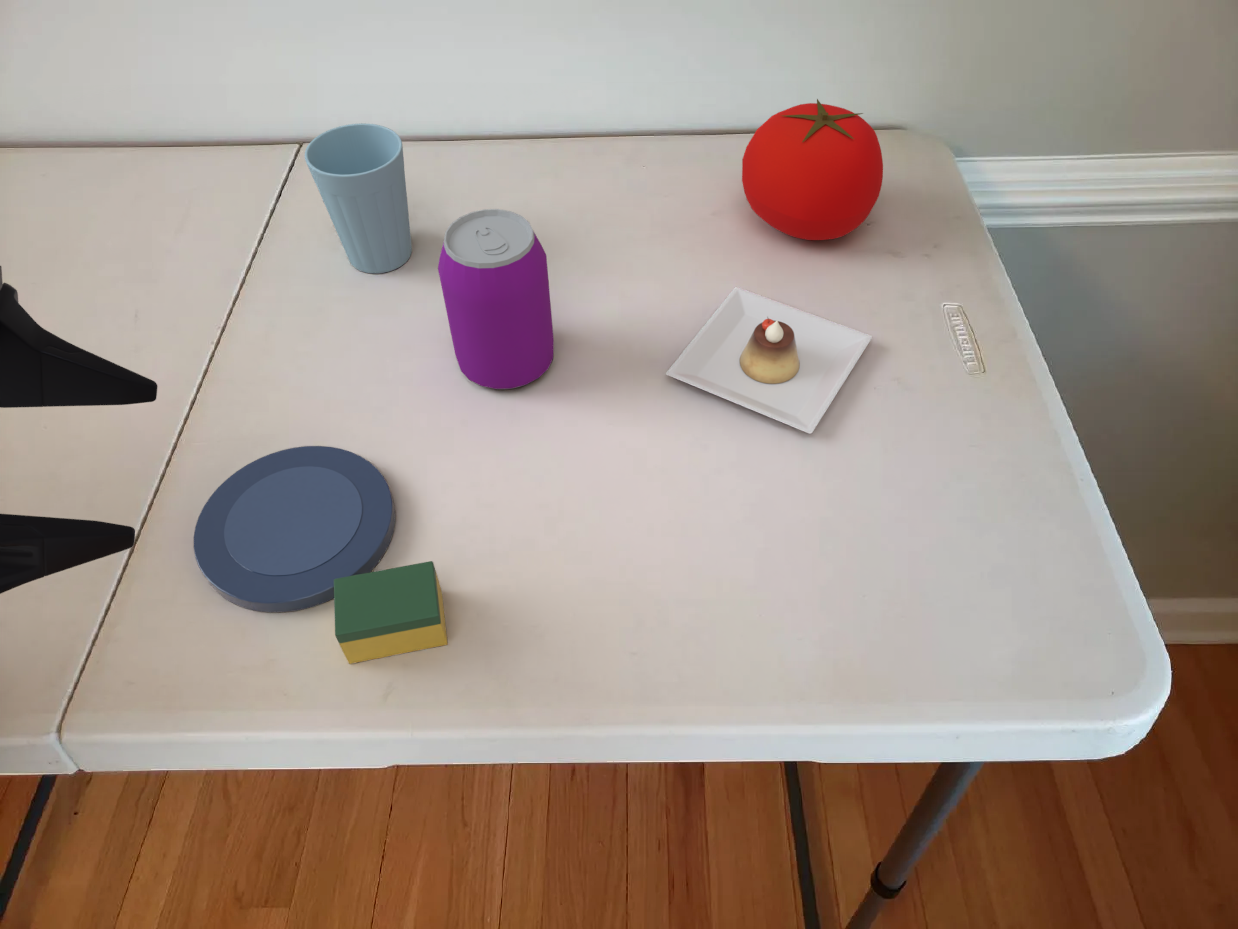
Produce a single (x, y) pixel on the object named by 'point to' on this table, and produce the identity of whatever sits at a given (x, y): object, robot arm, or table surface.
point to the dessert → (771, 358)
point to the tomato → (813, 171)
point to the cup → (364, 193)
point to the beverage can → (497, 298)
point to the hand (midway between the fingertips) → (146, 459)
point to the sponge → (389, 612)
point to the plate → (294, 528)
